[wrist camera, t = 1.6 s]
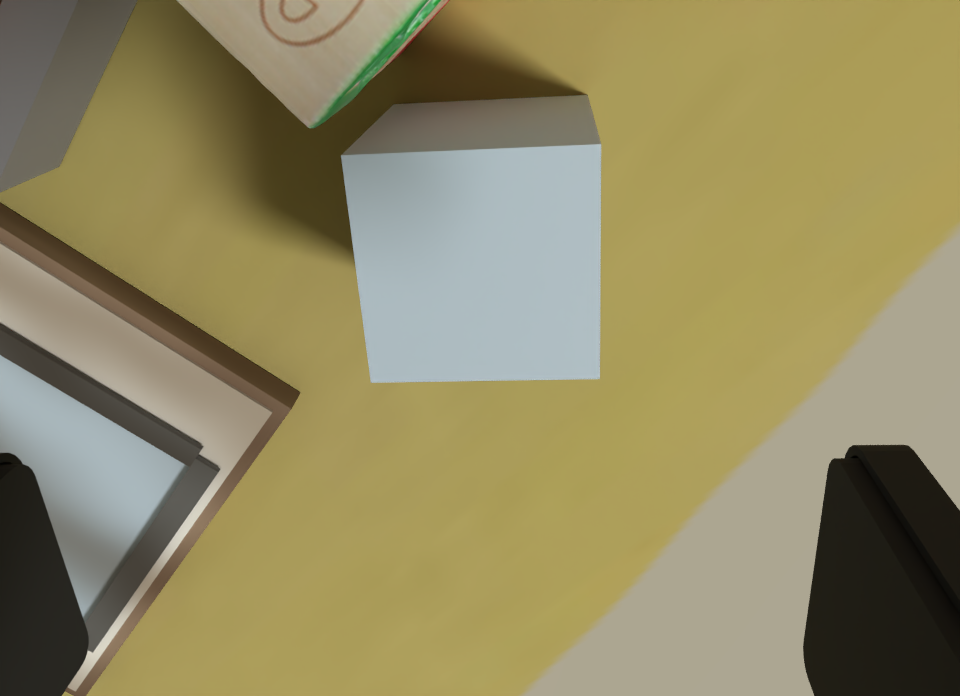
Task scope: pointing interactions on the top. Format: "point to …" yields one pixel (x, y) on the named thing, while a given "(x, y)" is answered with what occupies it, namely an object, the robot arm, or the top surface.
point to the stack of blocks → (314, 44)
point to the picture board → (119, 425)
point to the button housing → (50, 76)
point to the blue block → (478, 240)
